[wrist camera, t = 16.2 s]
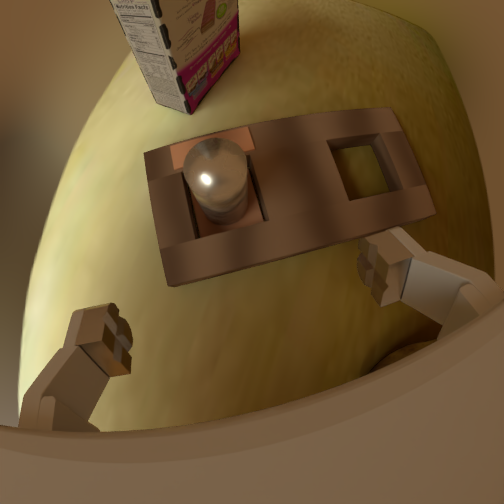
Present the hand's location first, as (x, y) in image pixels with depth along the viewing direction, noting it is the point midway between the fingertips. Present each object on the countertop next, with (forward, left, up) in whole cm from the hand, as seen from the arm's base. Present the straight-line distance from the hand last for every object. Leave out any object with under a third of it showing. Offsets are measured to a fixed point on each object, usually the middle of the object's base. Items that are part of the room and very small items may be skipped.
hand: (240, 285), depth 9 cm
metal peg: (0, +8, -15) cm, 17 cm away
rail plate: (+7, +8, -16) cm, 19 cm away
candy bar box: (+1, +24, -16) cm, 29 cm away
